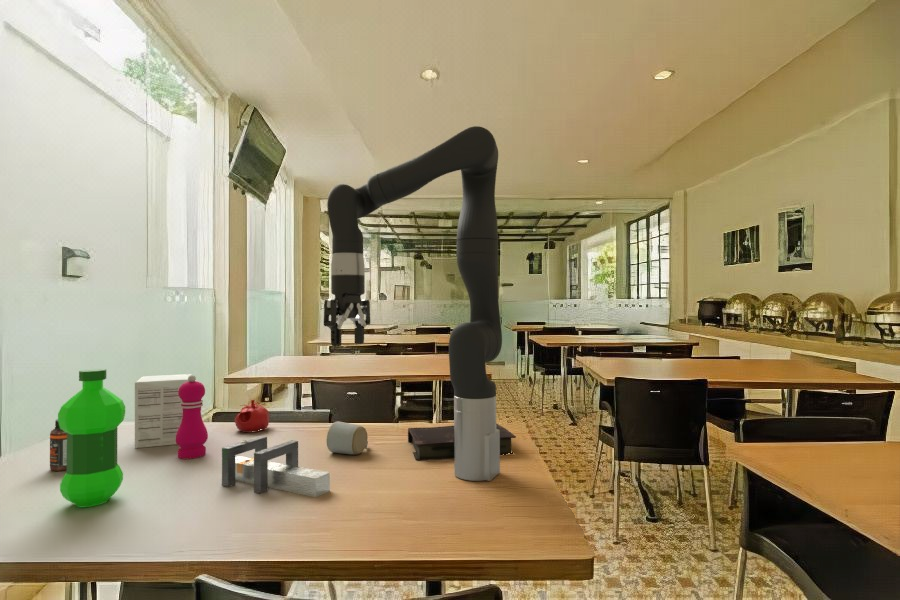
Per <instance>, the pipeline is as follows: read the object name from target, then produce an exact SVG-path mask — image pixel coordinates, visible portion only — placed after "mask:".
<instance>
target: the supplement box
mask: <svg viewBox="0 0 900 600" xmlns="http://www.w3.org/2000/svg"><path fill="white" fill-rule="evenodd" d="M190 375H194V374H192V373H184V374H183V373H181V374H165V375H143V376H142V377H140V378H139V379H138V380H136V381H135V382H134V449H141V448H150V447H161V446H171V445H172V446H173V445H177V444H176V434H177V431H178V429H179V427H180V424H181V421H182V416H183V409H182V408H181V402H182V399H181V398H180V397H179V395H178V391H179V388H180V386H181V385H182V384H184V383H186V382H189V381H188V377H189V376H190Z"/></svg>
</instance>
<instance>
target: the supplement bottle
mask: <svg viewBox="0 0 900 600" xmlns="http://www.w3.org/2000/svg"><path fill="white" fill-rule="evenodd" d="M54 423H55V424H54V428H52V429H51V431H50V433H49V469H50V470H51V471H53V472H64V471H67V433H66V432H64V431H63V430H62V429H60V427H59V423H58V418H57V419H55V422H54ZM63 470H64V471H63Z"/></svg>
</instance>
